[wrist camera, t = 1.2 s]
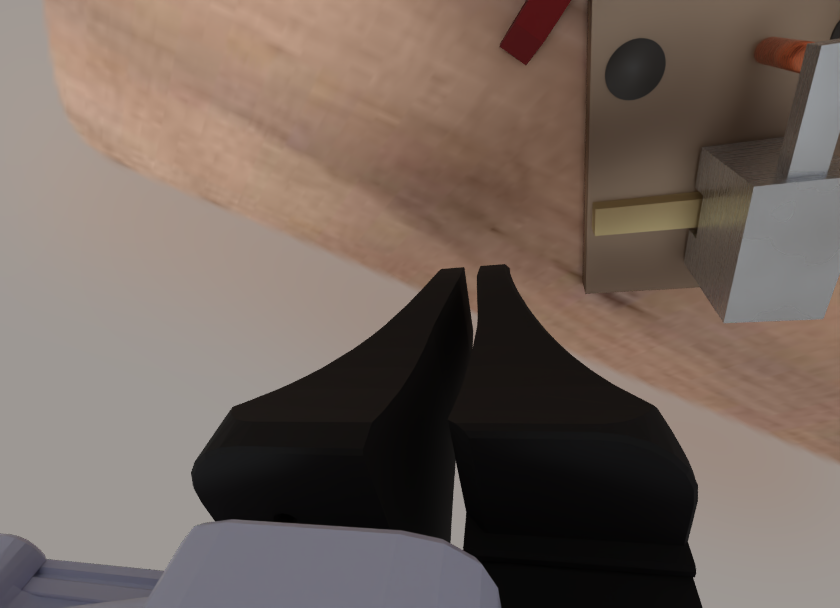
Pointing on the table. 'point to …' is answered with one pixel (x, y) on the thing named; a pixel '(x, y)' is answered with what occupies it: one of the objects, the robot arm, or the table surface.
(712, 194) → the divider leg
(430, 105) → the table surface
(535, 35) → the bracket
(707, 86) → the board
